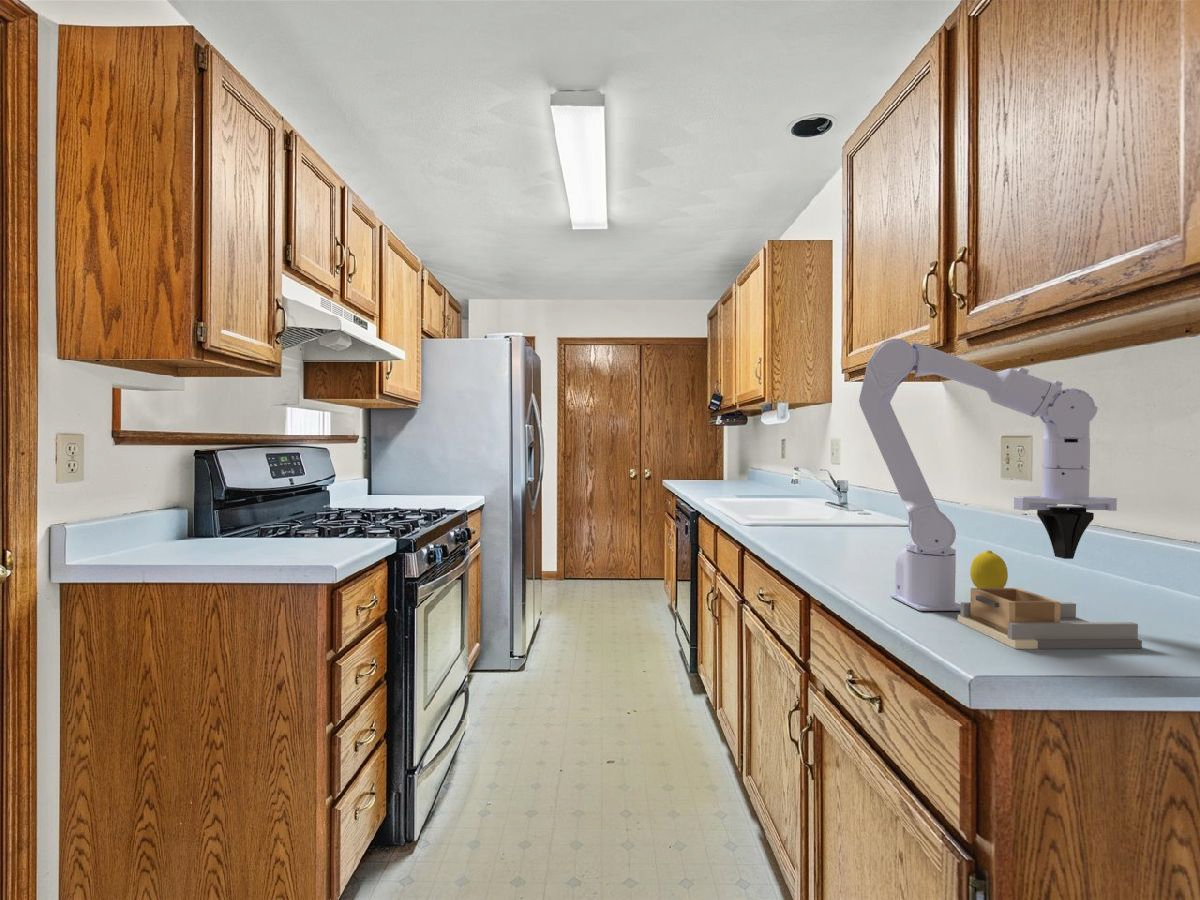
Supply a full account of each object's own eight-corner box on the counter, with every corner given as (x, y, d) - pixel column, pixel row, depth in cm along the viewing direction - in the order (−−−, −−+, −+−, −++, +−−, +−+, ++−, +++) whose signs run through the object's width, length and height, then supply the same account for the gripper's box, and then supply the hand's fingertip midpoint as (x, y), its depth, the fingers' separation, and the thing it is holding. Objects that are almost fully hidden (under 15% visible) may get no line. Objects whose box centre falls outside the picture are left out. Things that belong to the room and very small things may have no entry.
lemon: (992, 592, 109) (993, 547, 109) (1015, 600, 104) (1015, 553, 104) (962, 592, 109) (963, 547, 109) (983, 600, 103) (984, 553, 103)
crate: (966, 617, 89) (966, 588, 89) (1016, 617, 89) (1017, 587, 89) (1004, 635, 81) (1004, 602, 81) (1059, 635, 81) (1060, 602, 81)
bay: (957, 621, 91) (958, 601, 91) (1068, 621, 91) (1068, 601, 91) (1015, 648, 79) (1015, 625, 79) (1141, 648, 79) (1142, 625, 79)
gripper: (1038, 469, 88) (1037, 562, 88) (1135, 469, 88) (1134, 562, 88) (1004, 467, 95) (1003, 553, 95) (1094, 467, 95) (1093, 553, 96)
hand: (1063, 557), depth 92 cm, fingers closed
